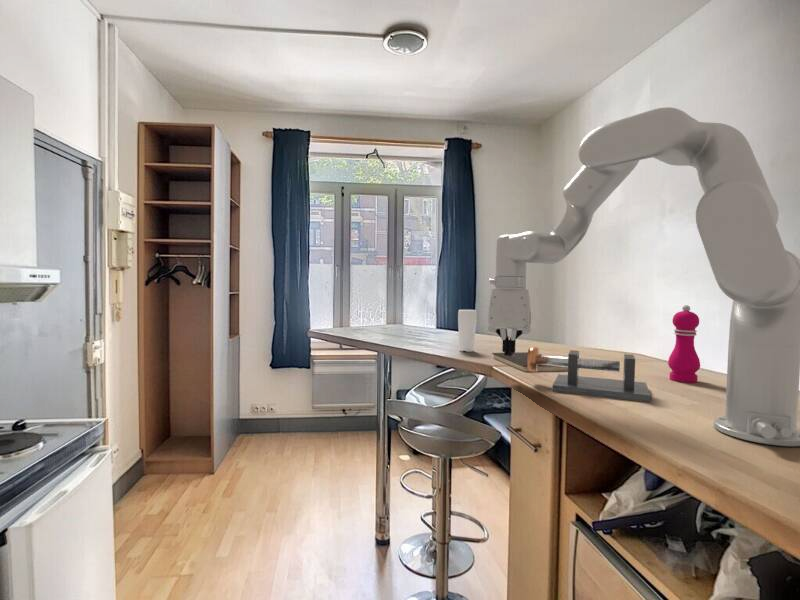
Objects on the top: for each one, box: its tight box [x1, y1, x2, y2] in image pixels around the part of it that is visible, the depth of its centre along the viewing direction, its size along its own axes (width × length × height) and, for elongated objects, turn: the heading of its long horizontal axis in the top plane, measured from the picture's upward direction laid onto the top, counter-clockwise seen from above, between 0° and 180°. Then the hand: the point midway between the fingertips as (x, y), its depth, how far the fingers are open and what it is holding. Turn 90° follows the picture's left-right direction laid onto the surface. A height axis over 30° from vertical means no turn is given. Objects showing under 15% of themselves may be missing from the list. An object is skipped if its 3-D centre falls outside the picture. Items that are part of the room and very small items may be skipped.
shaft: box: [527, 346, 621, 373], centre depth 109 cm, size 20×6×6 cm, turn 66°
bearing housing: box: [552, 349, 652, 403], centre depth 107 cm, size 20×14×8 cm
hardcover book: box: [491, 351, 568, 373], centre depth 141 cm, size 16×23×2 cm
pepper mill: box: [667, 304, 701, 384], centre depth 119 cm, size 7×7×20 cm
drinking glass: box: [457, 309, 478, 353], centre depth 164 cm, size 7×7×15 cm
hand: (508, 355), depth 116 cm, fingers closed
